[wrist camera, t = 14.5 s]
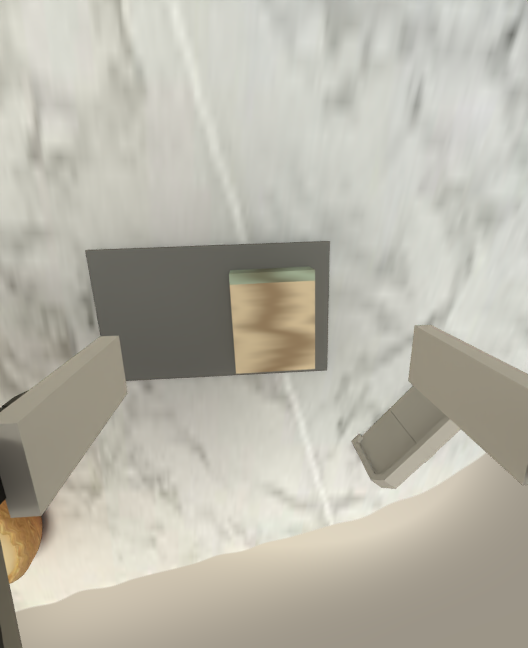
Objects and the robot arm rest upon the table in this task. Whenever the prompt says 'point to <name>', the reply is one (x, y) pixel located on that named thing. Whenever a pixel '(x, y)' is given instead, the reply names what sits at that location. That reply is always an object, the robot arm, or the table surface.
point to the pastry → (18, 541)
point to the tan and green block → (273, 319)
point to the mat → (190, 303)
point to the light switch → (403, 439)
